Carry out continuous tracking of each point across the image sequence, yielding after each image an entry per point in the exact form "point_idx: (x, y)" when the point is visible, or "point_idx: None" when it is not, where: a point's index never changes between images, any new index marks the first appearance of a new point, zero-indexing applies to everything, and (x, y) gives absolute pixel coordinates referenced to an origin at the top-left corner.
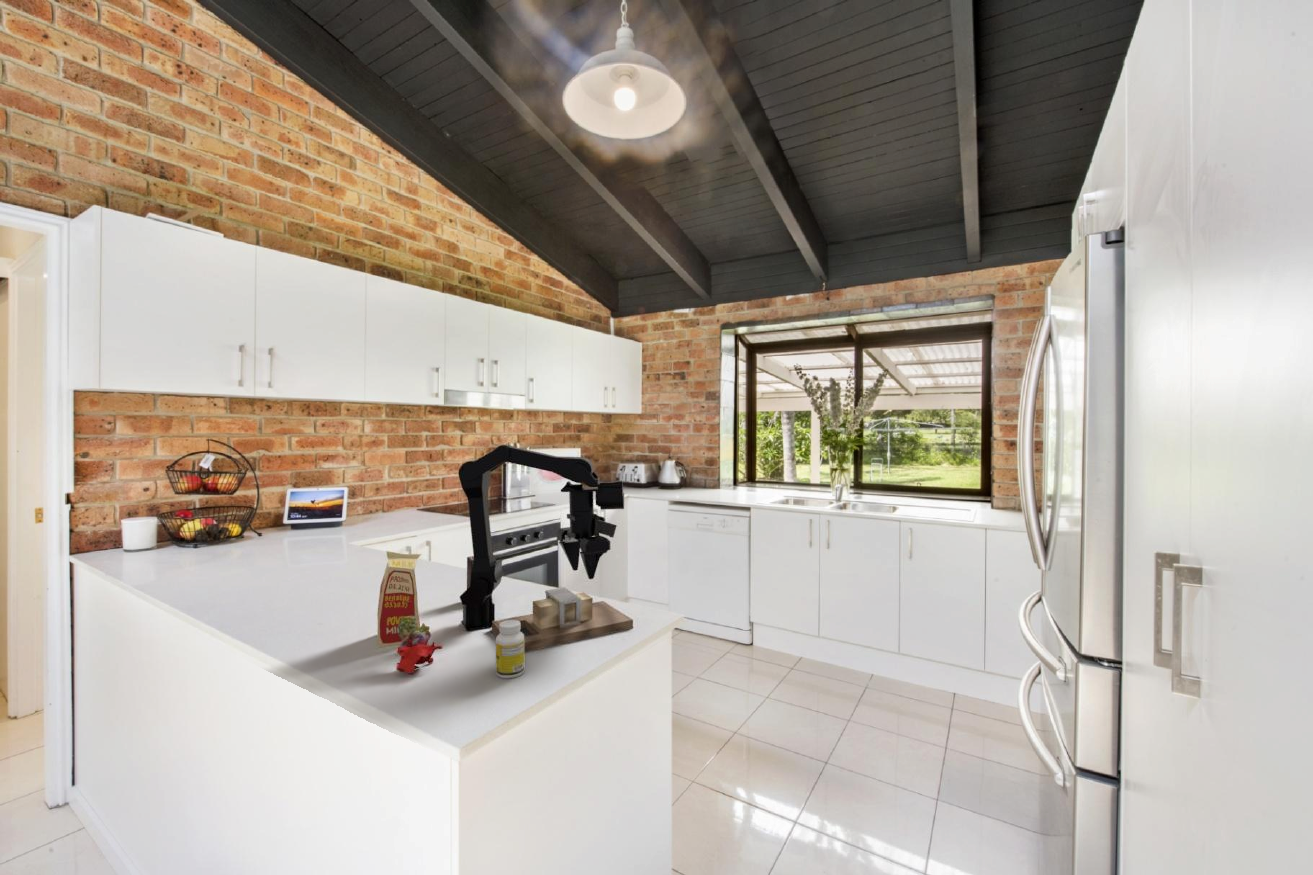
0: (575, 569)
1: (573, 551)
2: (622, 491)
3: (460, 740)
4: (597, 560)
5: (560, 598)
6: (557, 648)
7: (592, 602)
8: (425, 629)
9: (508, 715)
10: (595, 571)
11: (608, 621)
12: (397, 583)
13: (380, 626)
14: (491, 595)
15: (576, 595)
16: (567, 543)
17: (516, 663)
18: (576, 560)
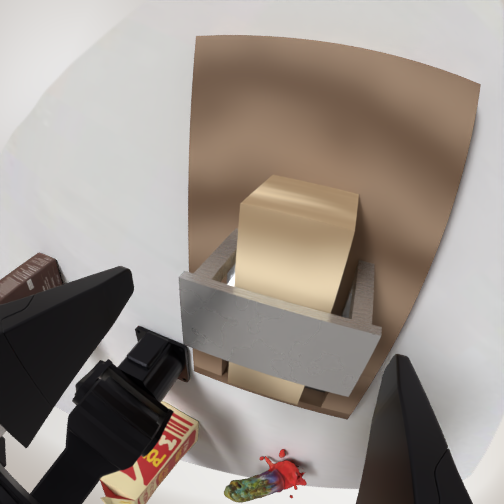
0: (128, 285)
1: (36, 368)
2: None
3: (463, 479)
4: (455, 499)
5: (307, 376)
6: (404, 347)
7: (355, 220)
8: (263, 491)
9: (479, 456)
10: (427, 400)
11: (429, 168)
12: (149, 492)
13: (181, 457)
14: (48, 265)
15: (323, 321)
16: (10, 429)
17: None
18: (83, 313)
